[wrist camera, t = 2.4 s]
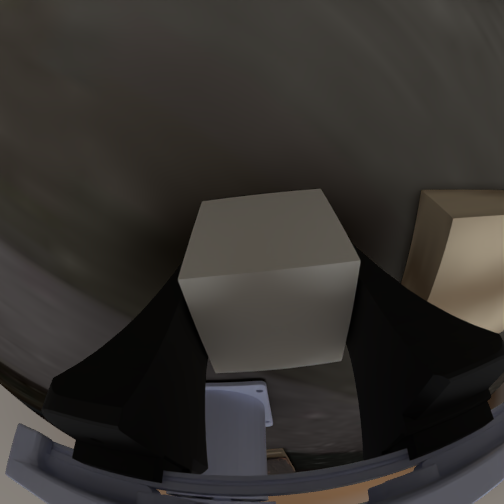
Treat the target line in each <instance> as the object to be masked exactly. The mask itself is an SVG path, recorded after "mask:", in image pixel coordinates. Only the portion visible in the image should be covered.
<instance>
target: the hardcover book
mask: <svg viewBox="0 0 504 504" xmlns="http://www.w3.org/2000/svg"><path fill="white" fill-rule="evenodd" d="M266 454H267V475H275V474H287V473H296V472H295V469H294V467H293V466H292V464H291V462H290V460H289V459H288V457H287V455H286V453H285V451H284V450H283V448H278V449H267V450H266Z"/></svg>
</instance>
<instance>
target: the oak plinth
mask: <svg viewBox="0 0 504 504" xmlns="http://www.w3.org/2000/svg"><path fill="white" fill-rule="evenodd" d="M401 284H402V285H403V286H405V287H406V288H407V289H409V290H410V291H412V292H413V293H415V294H417V295H418V296H420V297H421V298H423V299H424V300H426V301H428V302H429V303H431V304H433V305H435V306H436V307H438V308H440V309H442V310H444V311H445V312H447V313H449V314H451V315H453V316H455V317H458V318H460V319H462V320H464V321H466V322H469V323H471V324H473V325H476V326H479V327H481V328H484V329H487V330H490V331H492V332H495V333H500V332H502V331H503V330H504V190H421V195H420V201H419V207H418V213H417V218H416V223H415V228H414V233H413V238H412V243H411V247H410V251H409V255H408V260H407V264H406V267H405V271H404V275H403V279H402V282H401Z"/></svg>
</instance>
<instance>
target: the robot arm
mask: <svg viewBox="0 0 504 504" xmlns="http://www.w3.org/2000/svg"><path fill="white" fill-rule="evenodd" d="M352 245H353V244H352ZM353 247H354V249H355V251H356V253H357V255H358V257H359V258H360V260H361V261H360V268H359V275H358V281H357V287H356V293H355V299H354V304H353V310H352V315H351V320H350V325H349V330H348V334H347V339H346V345H347V348H348V351H349V354H350V358H351V362H352V367H353V372H354V377H355V383H356V389H357V395H358V402H359V409H360V418H361V428H362V441H363V459H364V461H360V462H356V463H352V464H347V465H342V466H337V467H332V468H326V469H320V470H313V471H305V472H297V473H287V474H275V475H267V454H266V429H265V427H268V426H272V425H273V419H272V414H271V408H270V403H269V397H268V392H267V386H266V383H265V382H264V381H245V382H222V383H206V368H207V361H208V355H207V352H206V350H205V348H204V345H203V343H202V340H201V338H200V336H199V333H198V331H197V328H196V326H195V323H194V321H193V318H192V316H191V313H190V311H189V308H188V305H187V303H186V300H185V298H184V295H183V292H182V290H181V287H180V284H179V281H178V277H179V273H180V270H181V267H182V264H181V265H180V266H179V267H178V269H177V270H176V271H175V273H174V274H173V275H172V276H171V278H170V279H169V280H168V281H167V283H166V284H165V285H164V286H163V288H162V289H161V290H160V291H159V292H158V293H157V295H156V296H155V297H154V298H153V299H152V300H151V301H150V303H149V304H148V305H147V306H146V307H145V308H144V309H143V310H142V311H141V313H140V314H139V315H138V316H137V317H136V318H135V319H134V320H132V321H131V322H130V323H129V324H128V325H127V326H126V327H125V328H124V329H123V330H122V331H121V332H119V333H118V334H117V335H116V336H115V337H113V338H112V339H111V340H110V341H109V342H107V343H106V344H105V345H104V346H103V347H101V348H100V349H98V350H97V351H96V352H94V353H93V354H92V355H90V356H89V357H87V358H86V359H84V360H83V361H81V362H80V363H78V364H77V365H75V366H73V367H72V368H70V369H68V370H66V371H65V372H63V373H61V374H60V375H58V376H56V377H54V378H53V380H52V382H51V385H50V388H49V390H48V393H47V396H46V399H45V402H44V405H43V408H42V413H43V415H44V417H45V418H46V419H47V420H48V421H49V422H51V423H52V424H53V425H55V426H56V427H58V428H59V429H61V430H62V431H64V432H65V433H67V434H68V435H70V436H71V437H73V438H75V439H76V442H75V446H74V449H72V448H69V447H67V446H64V445H61V444H58V443H56V442H53V441H52V440H51V439H49V438H48V437H46V436H45V435H43V434H41V433H40V432H38V431H36V430H34V429H31V428H29V427H27V426H25V425H23V424H18V426H17V430H16V433H15V436H14V440H13V443H12V447H11V451H10V455H9V459H8V463H7V468H6V475H7V476H8V477H9V478H11V479H12V480H14V481H15V482H16V483H18V484H19V485H21V486H22V487H24V488H25V489H27V490H28V491H30V492H31V493H33V494H34V495H35V496H37V497H38V498H40V499H41V500H43V501H44V502H46V503H47V504H276V502H260V501H267V500H268V496H277V495H290V494H300V493H308V492H315V491H322V490H328V489H333V488H338V487H344V486H348V485H353V484H357V483H361V482H365V481H369V480H373V479H376V478H380V477H383V476H387V475H390V474H393V473H396V472H399V471H402V470H405V469H408V468H411V467H413V466H416V465H417V466H416V467H415V468H414V471H413V472H411V473H408V474H405V475H403V476H400V477H397V478H394V479H392V480H388V481H386V482H385V483H383V484H380V485H377V486H375V487H372V488H369V490H368V495H369V501H368V502H364V503H360V504H474V503H475V502H476V501H478V500H479V499H480V498H482V497H483V496H484V495H486V494H487V493H488V492H490V491H491V490H492V489H493V488H494V487H496V486H497V485H498V484H499V483H500V482H502V481H503V480H504V402H503V403H502V404H500V405H499V406H497V407H495V408H493V409H492V410H491V409H490V407H489V404H488V402H487V401H488V400H489V399H490V398H491V394H490V392H489V389H488V388H489V387H490V386H491V385H492V384H493V383H494V382H495V381H496V380H497V379H498V377H499V376H500V375H501V374H502V373H503V372H504V342H503V340H502V338H501V336H500V335H499V334H498V333H495V332H492V331H490V330H487V329H484V328H481V327H479V326H476V325H473V324H471V323H469V322H466V321H464V320H462V319H460V318H458V317H455V316H453V315H451V314H449V313H447V312H445V311H444V310H442V309H440V308H438V307H436V306H435V305H433V304H431V303H429V302H428V301H426V300H424V299H423V298H421V297H420V296H418V295H417V294H415V293H413V292H412V291H410V290H409V289H407V288H406V287H405V286H403V285H402V284H400V283H399V282H398V281H396V280H395V279H394V278H392V277H391V276H390V275H388V274H387V273H386V272H385V271H383V270H382V269H381V268H380V267H379V266H377V265H376V264H375V263H374V262H373V261H371V260H370V259H369V258H368V257H367V256H366V255H364V254H363V253H362V252H361V251H360V250H359V249H357V248H356V247H355V246H354V245H353ZM182 263H183V262H182ZM157 489H159V490H165V491H167V492H166V493H167V494H169V495H161V494H160V492H159V491H158V490H157ZM170 495H172V496H170ZM176 496H177V497H176Z"/></svg>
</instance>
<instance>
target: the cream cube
mask: <svg viewBox="0 0 504 504" xmlns="http://www.w3.org/2000/svg"><path fill="white" fill-rule="evenodd" d="M360 261H361V260H360V258H359V257H358V255H357V253H356V251H355V249H354V247H353V245H352V243H351V241H350V239H349V237H348V236H347V234H346V232H345V230H344V228H343V226H342V225H341V223H340V221H339V219H338V217H337V216H336V214H335V212H334V210H333V209H332V207H331V205H330V204H329V202H328V200H327V198H326V197H325V195H324V193H323V192H322V190H321V189H310V190H298V191H287V192H277V193H267V194H258V195H249V196H240V197H232V198H224V199H216V200H209V201H202V203H201V206H200V209H199V212H198V215H197V218H196V221H195V224H194V227H193V231H192V234H191V237H190V240H189V243H188V247H187V250H186V253H185V257H184V260H183V263H182V267H181V270H180V273H179V277H178V281H179V284H180V287H181V290H182V292H183V295H184V298H185V300H186V303H187V305H188V308H189V311H190V313H191V316H192V318H193V321H194V323H195V326H196V328H197V331H198V333H199V336H200V338H201V340H202V343H203V345H204V348H205V350H206V352H207V355H208V357H209V359H210V361H211V364H212V366H213V368H214V370H215V373H233V372H250V371H264V370H275V369H285V368H294V367H303V366H310V365H318V364H324V363H331V362H337V361H341V360H342V356H343V352H344V348H345V343H346V339H347V334H348V330H349V325H350V320H351V315H352V310H353V304H354V299H355V293H356V287H357V281H358V275H359V268H360Z"/></svg>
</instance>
